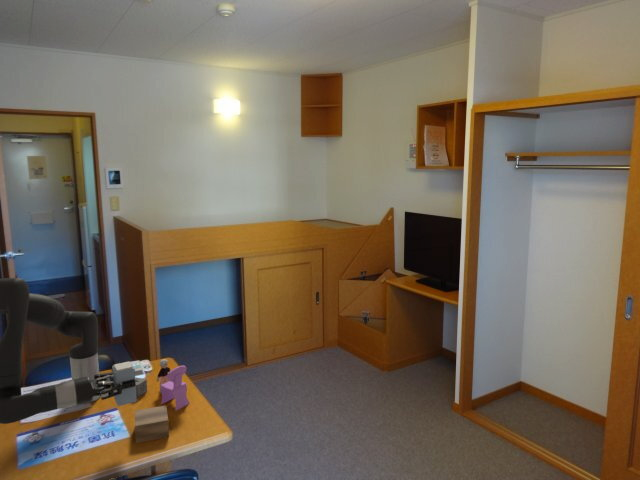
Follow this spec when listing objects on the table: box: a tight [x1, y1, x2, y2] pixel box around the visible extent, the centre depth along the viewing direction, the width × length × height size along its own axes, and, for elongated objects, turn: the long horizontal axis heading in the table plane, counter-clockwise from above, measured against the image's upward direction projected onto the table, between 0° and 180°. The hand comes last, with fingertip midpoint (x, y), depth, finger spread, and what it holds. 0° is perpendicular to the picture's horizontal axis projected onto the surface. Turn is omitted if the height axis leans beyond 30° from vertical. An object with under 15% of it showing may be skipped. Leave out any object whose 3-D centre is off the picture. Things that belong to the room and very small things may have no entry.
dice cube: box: [135, 376, 148, 398], centre depth 182 cm, size 5×5×5 cm
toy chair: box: [159, 365, 190, 411], centre depth 174 cm, size 8×9×15 cm
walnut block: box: [134, 405, 170, 444], centre depth 157 cm, size 10×10×6 cm
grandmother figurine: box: [156, 358, 172, 395], centre depth 184 cm, size 8×4×13 cm, turn 168°
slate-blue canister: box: [111, 361, 138, 407], centre depth 150 cm, size 6×6×12 cm
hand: (132, 378), depth 151 cm, fingers closed on slate-blue canister, 5 cm apart
